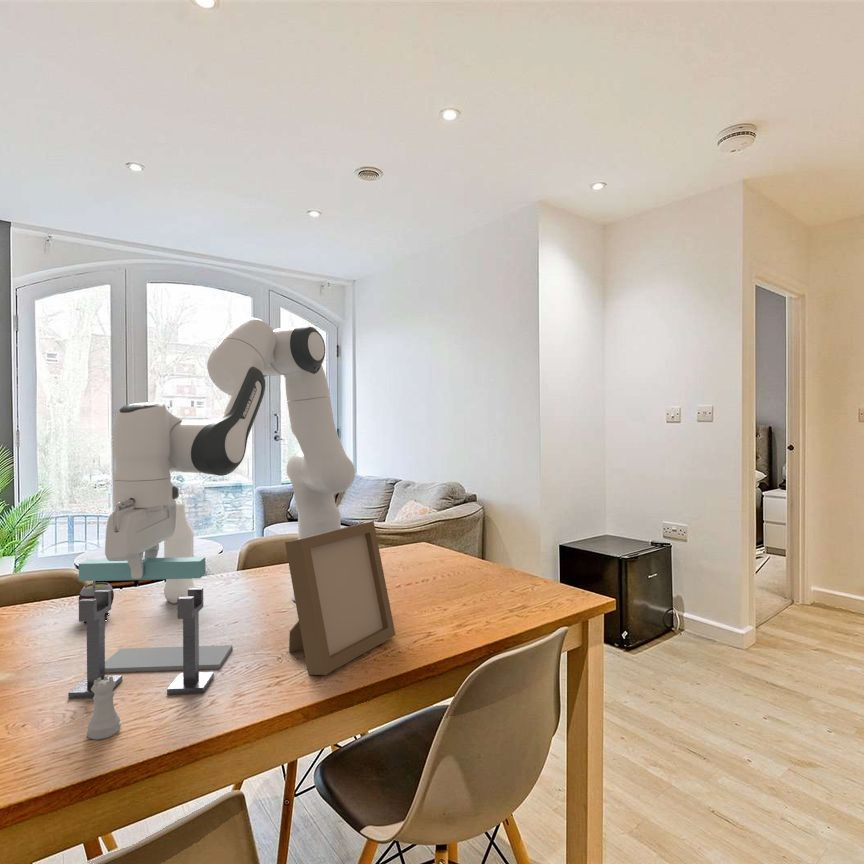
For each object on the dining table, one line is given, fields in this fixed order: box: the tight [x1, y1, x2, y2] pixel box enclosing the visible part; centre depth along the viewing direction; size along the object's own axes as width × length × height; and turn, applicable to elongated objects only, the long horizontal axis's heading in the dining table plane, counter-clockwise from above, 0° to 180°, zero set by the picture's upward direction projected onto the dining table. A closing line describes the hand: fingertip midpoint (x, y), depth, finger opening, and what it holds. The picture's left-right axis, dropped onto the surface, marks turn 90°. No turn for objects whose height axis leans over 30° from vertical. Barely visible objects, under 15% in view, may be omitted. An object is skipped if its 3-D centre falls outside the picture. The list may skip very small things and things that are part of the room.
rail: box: [78, 556, 207, 582], centre depth 97 cm, size 20×3×3 cm, turn 95°
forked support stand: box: [67, 587, 215, 699], centre depth 97 cm, size 22×6×16 cm, turn 95°
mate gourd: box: [78, 581, 115, 624], centre depth 130 cm, size 8×8×15 cm
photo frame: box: [284, 520, 396, 676], centre depth 113 cm, size 15×22×25 cm
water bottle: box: [163, 503, 195, 604], centre depth 144 cm, size 7×7×25 cm
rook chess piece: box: [86, 675, 122, 741], centre depth 83 cm, size 4×4×8 cm
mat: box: [105, 644, 233, 674], centre depth 108 cm, size 22×9×1 cm, turn 95°
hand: (143, 573), depth 97 cm, fingers closed on rail, 3 cm apart
